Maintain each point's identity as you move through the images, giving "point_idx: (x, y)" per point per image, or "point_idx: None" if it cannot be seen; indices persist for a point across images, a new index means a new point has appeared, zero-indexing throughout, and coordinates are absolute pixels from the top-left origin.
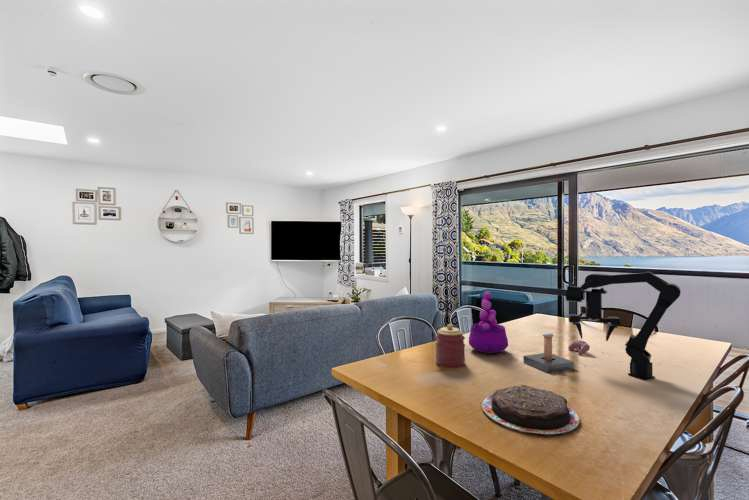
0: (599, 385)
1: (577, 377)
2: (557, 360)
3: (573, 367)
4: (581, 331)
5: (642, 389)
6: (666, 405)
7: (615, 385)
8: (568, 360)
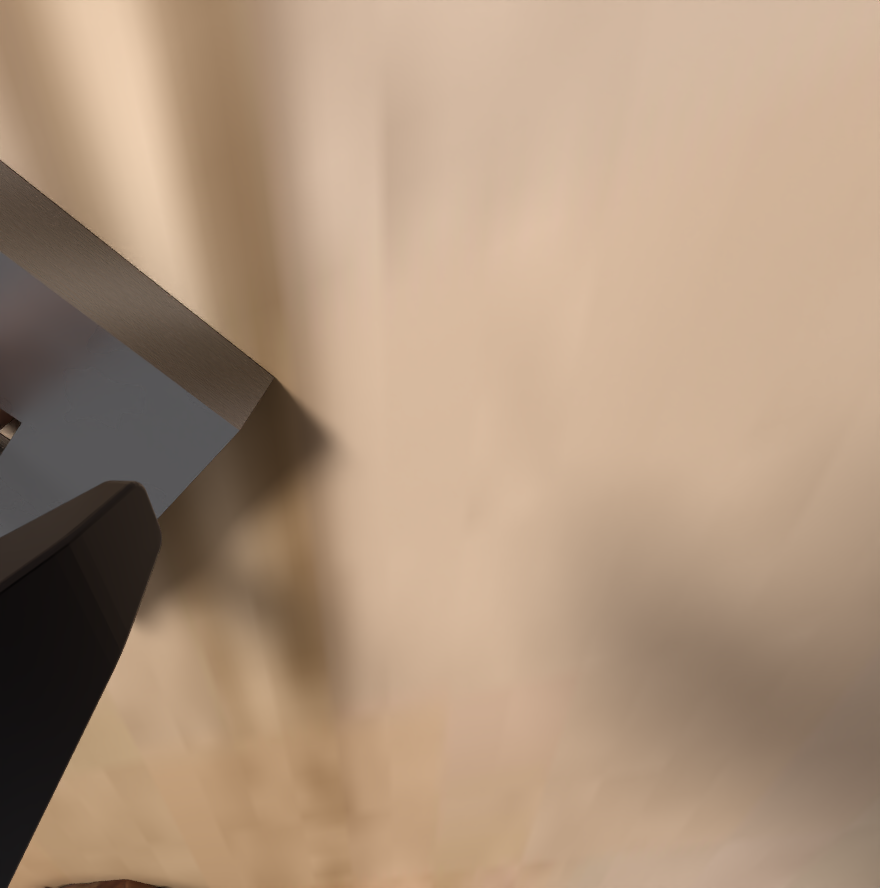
0: (505, 713)
1: (335, 609)
2: (45, 451)
3: (261, 394)
4: (15, 854)
5: (854, 710)
6: (867, 875)
7: (639, 687)
8: (161, 397)
